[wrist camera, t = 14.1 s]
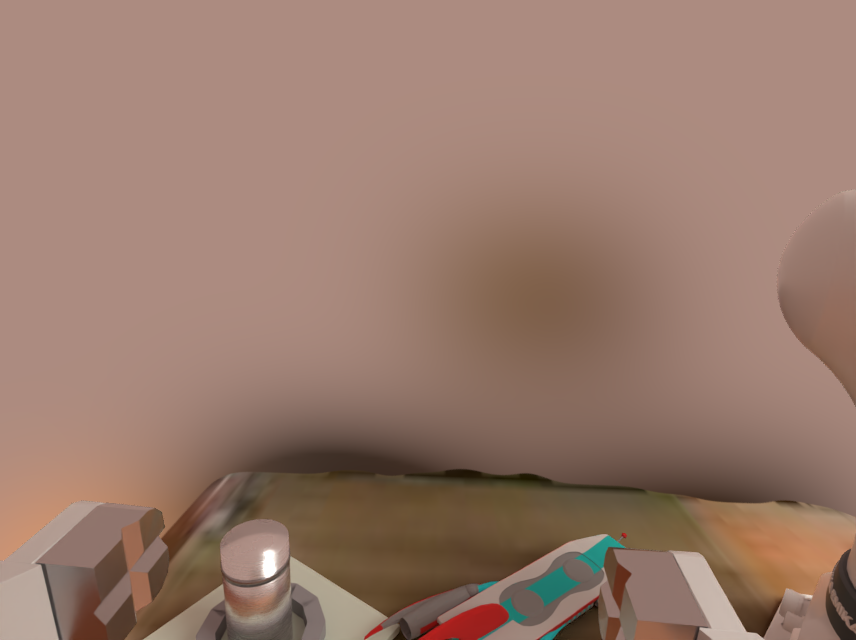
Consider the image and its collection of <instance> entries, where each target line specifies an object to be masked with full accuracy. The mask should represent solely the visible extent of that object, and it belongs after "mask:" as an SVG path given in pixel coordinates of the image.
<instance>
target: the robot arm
mask: <svg viewBox="0 0 856 640" xmlns="http://www.w3.org/2000/svg"><path fill="white" fill-rule="evenodd" d="M777 293H778V300H779V303H780V308H781V311H782V313H783V316H784V318H785V320H786V322H787V324H788V326H789V328H790V329H791V331H792V332H793V333H794V335H795V336H796V338H797V339H798V340H799V341H800V342H801V343H802V344H803V345H804V346H805V347H806V348H807V349H808V350H809V351H811V352H812V353H813V354H814V355H815V356H816V357H818V358H819V359H820V360H821V361H822V362H823V363H824V364H825V365H826V366H827V367H828V368H829V369H830V370H831V371H832V373H833V374H834V375H835V376H836V378H837V379H838V380H839V381H840V383H842V385H843V387H844V388H845V390H846V391H847V393H848V394H849V396H850V397H851V399H852V401H853V403H854V405H855V407H856V190H849V191H843V192H840V193H838V194H837V195H835V196H833V197H831V198H830V199H828V200H827V201H825V202H824V203H823V204H821V205H820V206H819V207H817V208H816V209H815V210H814V211H813V212H812V213H811V214H810V215H808V216H807V218H806V219H805V220H804V221H803V222H802V223H801V224H800V225H799V226H798V228H797V229H796V230H795V232H794V233H793V235H792V236H791V238H790V240H789V241H788V243H787V245H786V247H785V249H784V252H783V254H782V257H781V260H780V264H779V268H778V274H777ZM164 528H165V525H164V520H163V515H162V512H161V511H159V510H158V509H156V508H150V507H142V506H132V505H123V504H114V503H101V502H92V501H78V502H75V503H72V504H71V505H69V507H67V508H66V509H65V510H64V511H63V512H61V513H60V514H59V515H58V516H57V517H55V518H54V519H53V520H52V521H50V522H49V523H48V524H47V525H46V526H45V527H43V528H42V529H41V530H40V531H39V532H38V533H36V534H35V535H34V536H33V537H32V538H30V539H29V540H28V541H27V542H26V543H24V544H23V545H22V546H21V547H20V548H19V549H17V550H16V551H15V552H14V553H13V554H12V555H10V556H9V557H8V558H7V559H6V560H4V561H0V640H124V639H125V638H126V637H127V635H128V634H129V633H130V631H131V630H132V629H133V627H134V626H135V625H136V623H137V622H136V611H138V610H139V609H141V608H143V607H144V606H146V605H148V604H149V603H151V602H152V601H153V600H154V598H155V597H156V596H157V594H158V593H159V591H160V590H161V588H162V586H163V583H164V581H165V578H166V575H167V573H168V566H169V552H168V547H167V546H166V544H165V543H164V542H163V541H162V540H161V539H160V537H159V535H160V533H161V532H162V530H163V529H164ZM603 566H604V569H605V573H606V576H607V579H608V580H607V581H606V582H605V583H604V584H602V585H601V586H600V593H599V601H598V613H599V626H600V633H601V637H602V640H856V534H855V538H854V541H853V545H852V548H851V549H849V550H847V551H846V552H845V553H844V554H843V555H842V557H841V559H840V560H839V561H838V562H837V564H836V565H835V567H834V569H833V571H832V572H828V573H824V574H822V575H821V576H820V579H819V581H818V584H817V587H816V589H815V592H814V594H813V596H812V595H806V594H799V593H797V592H795V591H793V590H791V589H786V591H785V594H784V597H783V600H782V602H781V604H780V606H779V608H778V610H777V612H776V614H775V616H774V618H773V620H772V622H771V624H770V626H769V628H768V630H767V632H766V634H765V636H764V638H762V637H761V636H759V635H758V634H757V633H750V632H746V630H745V628H744V627H743V625H742V623H741V621H740V620H739V618H738V616H737V614H736V613H735V611H734V609H733V607H732V606H731V604H730V602H729V600H728V599H727V597H726V595H725V593H724V592H723V590H722V588H721V586H720V585H719V583H718V581H717V579H716V578H715V576H714V574H713V572H712V571H711V569H710V567H709V565H708V564H707V562H706V560H705V558H704V557H703V556H702V555H701V554H699V553H698V552H683V551H667V552H666V551H656V550H644V549H631V548H618V547H608V549H607V551H606V553H605V559H604V565H603Z"/></svg>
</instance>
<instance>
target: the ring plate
mask: <svg viewBox="0 0 856 640" xmlns="http://www.w3.org/2000/svg"><path fill="white" fill-rule="evenodd" d="M290 578H291V601H292V624H293V640H364V638H365V636H366V635H367V634H368V633H369V632H370V631H371V630H373V629H374V628H375V627H376V626H378V625H379V624H380V623H382V622H383V621H384V620H386V619H387V618H388V617H386V616H385V615H383V614H382V613H380V612H378V611H377V610H375V609H374V608H372V607H370V606H369V605H367V604H366V603H364V602H363V601H361V600H359V599H358V598H356V597H355V596H353V595H352V594H350V593H348V592H347V591H345V590H344V589H342V588H340V587H339V586H337V585H336V584H334V583H333V582H331V581H329V580H328V579H326V578H325V577H323V576H322V575H320V574H318V573H317V572H315V571H314V570H312V569H310V568H309V567H307V566H306V565H304V564H303V563H301V562H299V561H298V560H296V559H295V558H293V557H291V556H290ZM399 632H400V625H399V624H394V625H392V626H389V627H387V628H385V629H383V630H381V631H379V632H377V633H375V634H373V635H372V636H370V637H369V638H367V639H365V640H393V639H394V638H395V637H396V636H397V635H398V634H399ZM143 640H228V635H227V623H226V611H225V599H224V587H223V584H222V585H221V586H219V587H218V588H216V589H215V590H213V591H212V592H211V593H209V594H208V595H206V596H205V597H203V598H202V599H201V600H199V601H198V602H196V603H195V604H193V605H192V606H191V607H189V608H188V609H186V610H185V611H183V612H182V613H181V614H179V615H178V616H176V617H175V618H173V619H172V620H171V621H169V622H168V623H166V624H165V625H163V626H162V627H161V628H159V629H158V630H156V631H155V632H153V633H152V634H151V635H149V636H148V637H146V638H145V639H143Z"/></svg>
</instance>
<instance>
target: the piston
mask: <svg viewBox="0 0 856 640" xmlns="http://www.w3.org/2000/svg"><path fill="white" fill-rule="evenodd" d="M220 552H221V572H222V576H223V587H224V599H225V611H226V623H227V635H228V640H293V624H292V601H291V578H290V548H289V534H288V530H287V528H286V527H285V526H284V525H283V524H281V523H279V522H277V521H274V520H269V519H257V520H251V521H247V522H244V523H242V524H239V525H237V526H235V527H234V528H232V529H231V530H230V531H228V532H227V533H226V534H225V536H224V537H223V539H222V541H221V544H220Z"/></svg>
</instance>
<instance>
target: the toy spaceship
mask: <svg viewBox="0 0 856 640" xmlns="http://www.w3.org/2000/svg"><path fill="white" fill-rule="evenodd" d="M626 536H627V535H626V534H625V533H622V537H621V538H620V539H619V540H618V541H616V540H614V539H613V538H612V537H610V536H609V535H607V534H602V535H597V536H592V537H588V538H583V539H578V540H574V541H570V542H567V543H566V544H564V545H562V546H560V547H559V548H557V549H555V550H553V551H552V552H550V553H548V554H546V555H545V556H543V557H541V558H539V559H538V560H536V561H534V562H532V563H531V564H529V565H527V566H525V567H524V568H522V569H520V570H518V571H517V572H515V573H513V574H511V575H510V576H508V577H506V578H505V579H503V580H501V581H495V582H488V583H485V584H476V583H474V584H468V585H465V586H462V587H459V588H456V589H452V590H449V591H446V592H443V593H440V594H437V595H434V596H431V597H428V598H425V599H423V600H420V601H418V602H415V603H413V604H411V605H409V606H407V607H405V608H403V609H401V610H399V611H398V612H396V613H395V614H393V615H392V616H390V617H389V618H387V619H386V620H384V621H383V622H382V623H380V624H379V625H378V626H376V627H375V628H374V629H373V630H371V631H370V632H369V633H368V634H367V635H366V636H365V638H364V640H365V639H367V638H369V637H370V636H372V635H373V634H375V633H377V632H379V631H381V630H383V629H385V628H387V627H389V626H392V625H394V624H397V623H399V622H400V627H401V631H402V633H403V635H404V636H405V638H406V639H407V640H412V639H414V638H417V637H419V636H420V635H421V634H423V633H425V632H427V631H429V630H431V629H432V630H431V631H430V632H428V633H427V634H425V635H424V636H422V637H421V638H419V639H418V640H445V639H449V640H553V638H554V637H555V636H556V635H557V633H558V632H559V631H560V630H561V629H562V628H563V627H564V626H567V625H568V623H571V622H572V621H573V620H574V619H577V618H578V617H579V616H581V615H582V614H583V613H584V612H586V611H588V609H590V608H592V606H593V604H594V602H595V605H596V606H598V601H599V593H600V586H601V585H602V584H604V583H605V582H606V581H607V580H608V579H607V576H606V573H605V569H604V566H603V565H604V559H605V553H606V551H607V549H608V547H618V548H625V547H624V546H622V545H621V544H620V543H618V542H619V541H620V540H621V539H622V538H626ZM438 625H439V626H438ZM436 626H437V627H436ZM434 627H435V628H434ZM433 628H434V629H433Z"/></svg>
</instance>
